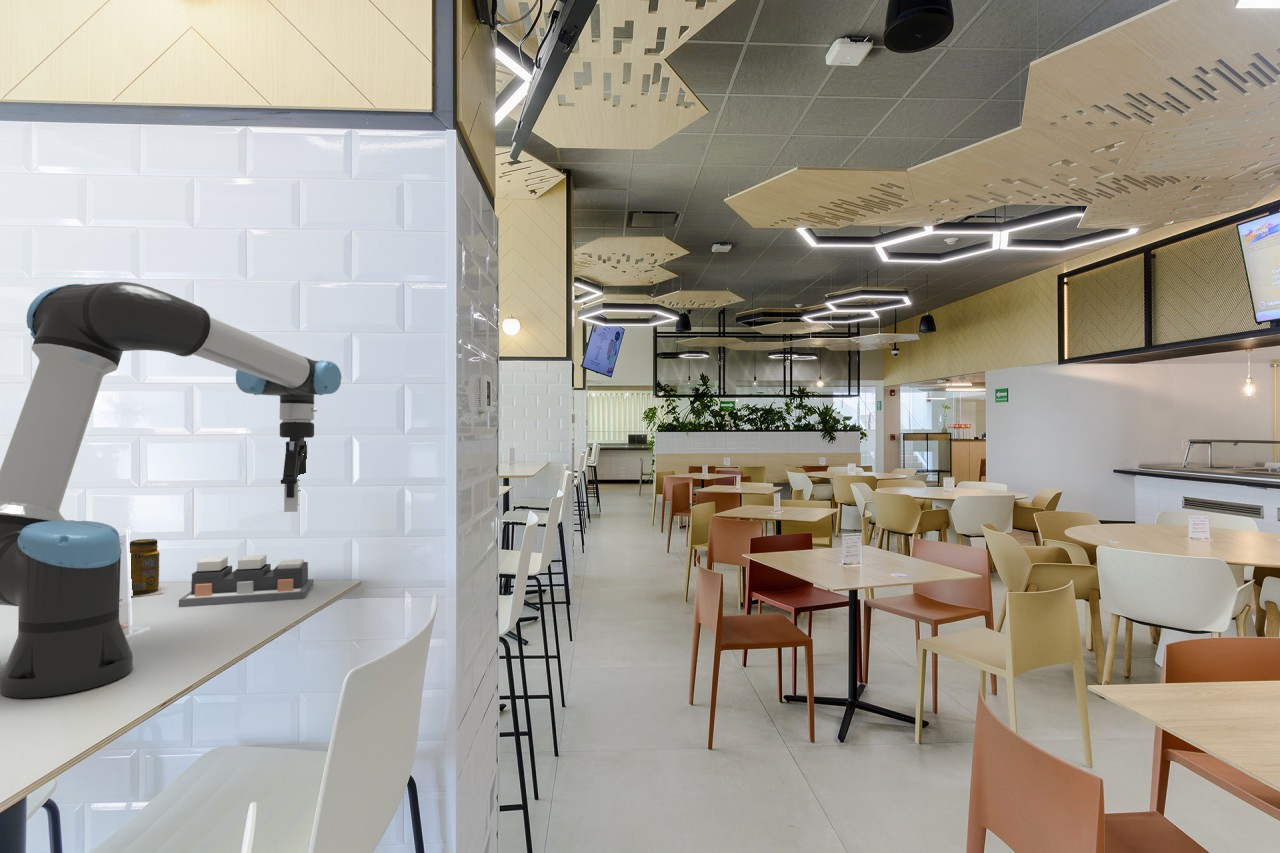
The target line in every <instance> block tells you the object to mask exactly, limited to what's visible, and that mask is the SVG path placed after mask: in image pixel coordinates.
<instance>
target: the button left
mask: <svg viewBox="0 0 1280 853" xmlns="http://www.w3.org/2000/svg"><path fill="white" fill-rule="evenodd" d="M228 559H229V557H228V556H213V557H212V556H210V557H208V556H207V557H204V558H202V559H201V560H199V561H197V562H196V571H217V570H221V569H223V568H224V567H226V566H229V564H228V563H229V562H228Z"/></svg>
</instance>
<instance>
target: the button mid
mask: <svg viewBox="0 0 1280 853" xmlns="http://www.w3.org/2000/svg"><path fill="white" fill-rule="evenodd" d="M265 564H267V554H255V555H253V554H252V555H244V556H242V557H241V558H239V559H238V560H237V569H257V568H261V567H263V566H264V565H265Z"/></svg>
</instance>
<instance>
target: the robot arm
mask: <svg viewBox="0 0 1280 853" xmlns="http://www.w3.org/2000/svg"><path fill="white" fill-rule="evenodd" d="M26 324H27V326H26V327H27V328H28V329H30V331H31V332H30V335H31V338H32V339H33V343H32V346H31V351H32V352H33V353H34V354H35V356H36V357H37V358H38V360H39V362H38V365H37V368H36V370H35V373H34V376H33V379H32V381H31V383H30V387H29V390H28V393H27V395H26V398H25V400H24V403H23V406H22V409H21V411H20V414H19V417H18V419H17V423H16V425H15V428H14V430H13V433H12V436H11V438H10V442H9V444H8V447H7V450H6V453H5V455H4V458H3V461H2V464H1V466H0V606H8V607H9V606H10V607H18V613H17V614H18V618H17V620H18V623H17V624H18V629H17V630H18V631H17V638H16V640H15V642H14V645H13V647H12V648H11V649H12V650H11V652H10V654H9V657H8V659H7V661H6V664H5V667H4V669H3V671H2V674H1V677H0V693H1V694H2V695H3V696H5V697H9V698H17V699H18V698H19V699H29V698H30V699H32V698H33V699H34V698H46V697H53V696H61V695H67V694H71V693H77V692H80V691H81V692H82V691H85V690H89V689H93V688H94V689H95V688H97V687H100V686H103V685H107V684H109V683H112V682H114V681H117V680H119V679H121V678H123V677H126V676H127V675H128V674H130V673H131V672H132V671H133V669H134V666H133V665H134V664H133V662H134V661H133V660H134V657H133V656H134V655H133V651H132V649H131V646H130V645H129V642H128V640H127V637H126V634H125V632H124V630H123V627H122V625H121V623H120V622H121V621H120V596H121V595H120V594H121V593H120V592H121V591H120V588H121V587H120V586H121V557H122V556H121V555H122V548H121V540H120V533H119V532H118V530H117V529H116V528H115V527H113V526H112V525H109V524H107V523H104V522H99V521H92V520H91V521H90V520H72V519H71V520H70V519H69V520H68V519H67V520H66V519H65V518H64V516H63V515H62V514H61V512H60V510H61V506H62V503H63V500H64V496H65V494H66V491H67V487H68V484H69V481H70V478H71V475H72V473H73V469H74V465H75V463H76V460H77V457H78V455H79V451H80V448H81V445H82V441H83V439H84V436H85V433H86V431H87V430H86V429H87V427H88V423H89V420H90V417H91V415H92V411H93V408H94V405H95V402H96V400H97V397H98V394H99V390H100V387H101V384H102V380H103V378H104V377H105V376H106V375H108V374H110V373H113V372H116V371H117V370H118V368H119V364H120V361H121V358H122V355H123V352H130V351H152V352H153V351H154V352H164V353H169V354H173V355H176V356H179V357H184V358H185V357H190V356H196V357H200V358H203V359H205V360H208V361H209V362H214V363H217V364H220V365H223V366H225V367H228V368H231V369H234V370H236V372H235V384H236V385H237V388H238V389H239V390H240V391H242V392H243V393H245V394H252V395H255V396H259V395H260V396H276V397H277V396H278V397H279V420H280V424H279V437H280V438H283V439H284V438H289V440H288V441H286V442H285V457H284V465H283V473H282V479H280V485H284V498H283V499H284V500H283V501H284V503H283V508H284V509H283V512H284V513H292V512H294V513H295V512H299V511H298V507H299V506H298V505H299V504H298V492H299V491H301V490H298V487H299V485H298V481H300V480H299V479H297V477H298V475H300V474H304V473H306V459H307V454H308V444H307V445H306V441H307V440H305V438H306V439H308V438H310V439H312V438H314V436H315V424H314V422H312V421H314V420H315V413H316V412H317V411H318V409H317V408H316V407H315V395H316V396H318V395H319V396H323V395H330V394H331V395H332V394H334V393H336V392H337V391H338V390H339V388H340V387H341V384H342V383H341V382H342V372H341V370H340V367H339V365H337V364H336V363H335V362H333V361H329V360H323V359H320V360H314V359H311V358H309V357H306V356H303V355H301V354H298V353H296V352H293V351H292V350H289V349H286V348H284V347H282V346H280V345H278V344H275V343H272V342H271V341H268V340H265V339H263V338H261V337H259V336H258V337H257V336H256V335H253V334H252V333H248V332H247V331H244V330H242V329H239V328H237V327H234V326H232V325H229V324H227V323H225V322H223V321H222V320H221V321H220V320H217V319H215V318H213V317H212V316H211V315H210V313H209V312H208V311H207V309H205V308H203V307H201V306H199V305H197V304H194V303H192V302H191V301H188V300H186V299H183V298H181V297H177V296H176V295H173V294H170V293H168V292H165V291H162V290H161V289H156V288H154V287H151V286H147V285H143V284H140V283H136V282H130V281H115V282H105V283H91V284H84V283H83V284H82V283H73V284H72V283H70V284H64V285H61V286H56V287H52V288H49V289H46V290H44V291H43V292H41V293H39V295H37V296H36V297H35V298H34V299H33V300H32V302H30V305H29V306H28V308H27V313H26ZM281 421H282V422H281ZM303 454H304V455H303Z"/></svg>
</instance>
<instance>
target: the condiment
mask: <svg viewBox="0 0 1280 853" xmlns="http://www.w3.org/2000/svg"><path fill="white" fill-rule="evenodd" d="M129 548H130V551H129V552H130V553H131V579H132V590H133V597H132V598H135V597H137V598H138V597H145V596H146V597H149V596H152V595H160V594H164V592H163V590H162V587H161V586H160V585H159V584H160V551H159V550H158V539H155V538H143V539H135V540H131V541H130V542H129Z"/></svg>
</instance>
